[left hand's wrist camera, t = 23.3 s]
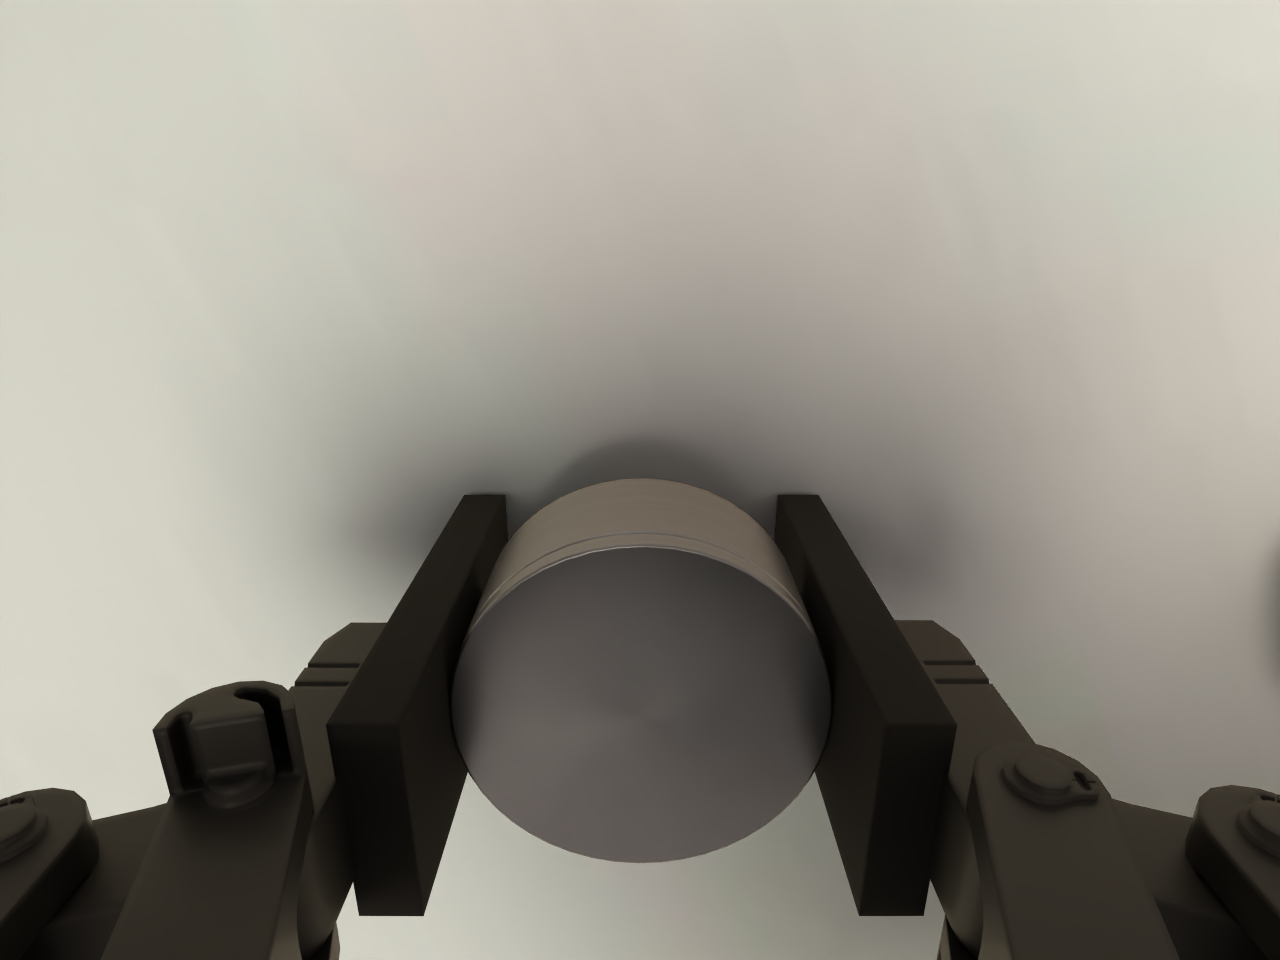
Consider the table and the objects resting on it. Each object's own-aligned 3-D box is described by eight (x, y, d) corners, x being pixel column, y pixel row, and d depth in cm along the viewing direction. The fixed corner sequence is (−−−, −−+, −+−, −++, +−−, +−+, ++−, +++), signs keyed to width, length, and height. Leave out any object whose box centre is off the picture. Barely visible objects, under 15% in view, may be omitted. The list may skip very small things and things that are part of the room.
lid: (440, 517, 12) (393, 594, 9) (767, 442, 11) (799, 502, 9) (534, 776, 13) (514, 892, 11) (821, 718, 13) (858, 827, 11)
